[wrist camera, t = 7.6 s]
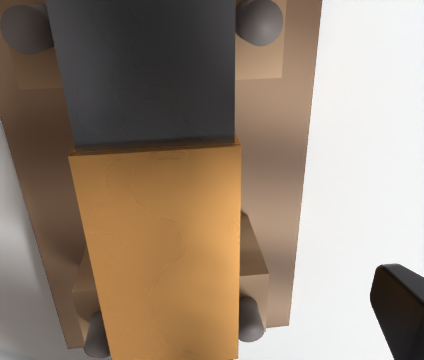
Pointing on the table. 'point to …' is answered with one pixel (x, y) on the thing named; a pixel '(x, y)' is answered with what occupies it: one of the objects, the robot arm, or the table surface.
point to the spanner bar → (156, 169)
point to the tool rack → (244, 129)
